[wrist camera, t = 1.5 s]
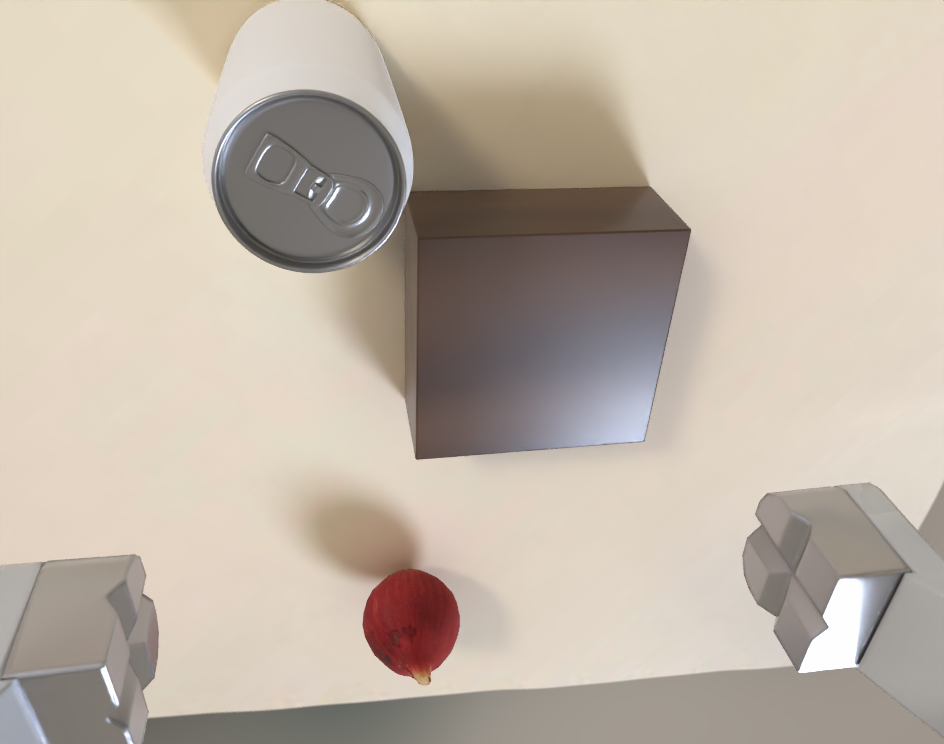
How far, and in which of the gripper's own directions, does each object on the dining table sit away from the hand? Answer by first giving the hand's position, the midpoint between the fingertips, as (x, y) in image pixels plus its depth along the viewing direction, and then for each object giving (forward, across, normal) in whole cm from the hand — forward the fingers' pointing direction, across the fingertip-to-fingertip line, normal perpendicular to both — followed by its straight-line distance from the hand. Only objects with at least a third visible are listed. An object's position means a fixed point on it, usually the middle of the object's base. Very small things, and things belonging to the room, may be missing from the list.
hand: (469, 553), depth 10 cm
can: (+28, +2, +1) cm, 28 cm away
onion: (+28, -2, +32) cm, 42 cm away
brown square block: (+28, -8, +12) cm, 31 cm away
